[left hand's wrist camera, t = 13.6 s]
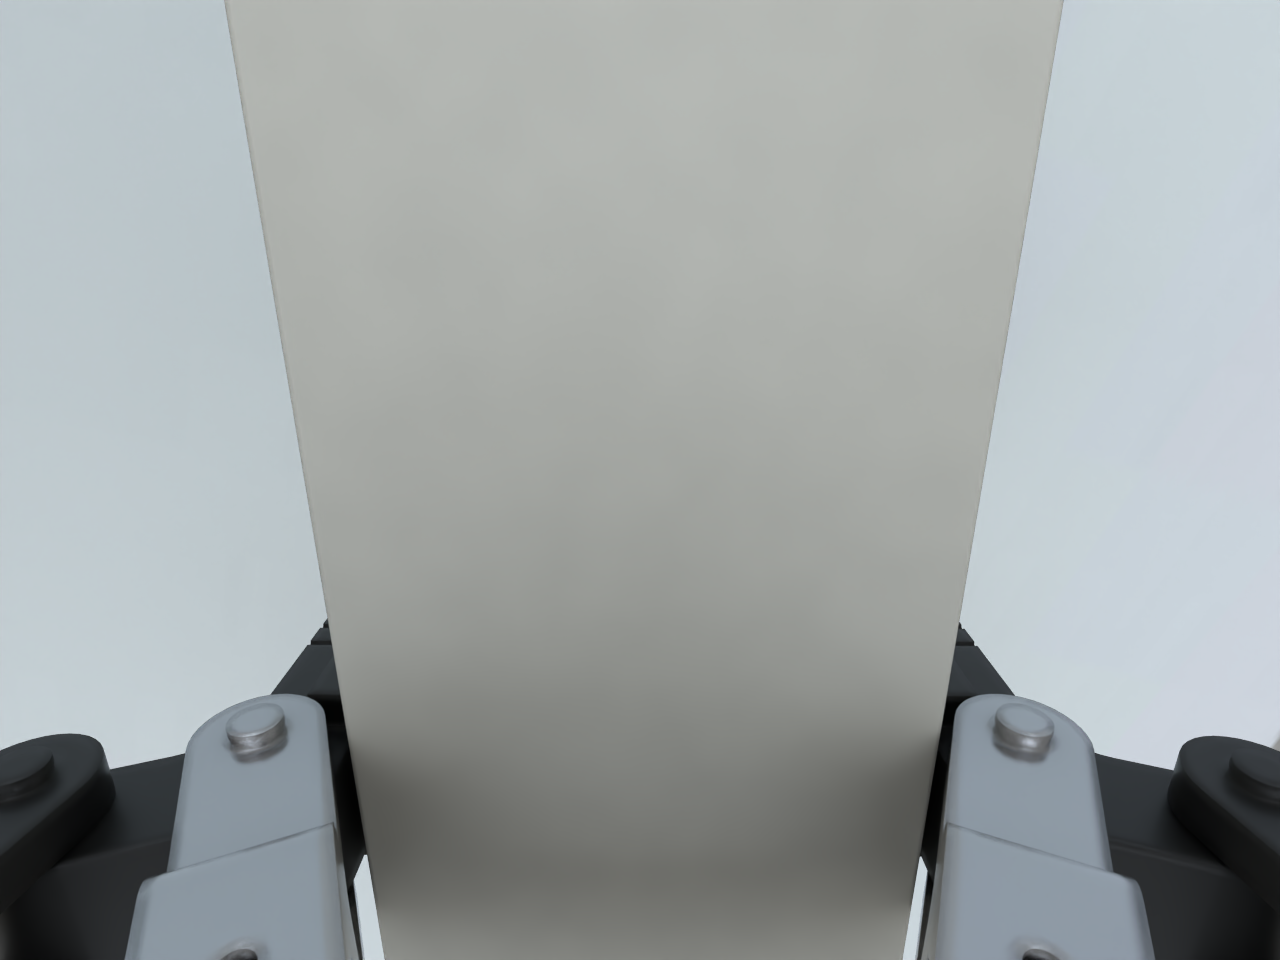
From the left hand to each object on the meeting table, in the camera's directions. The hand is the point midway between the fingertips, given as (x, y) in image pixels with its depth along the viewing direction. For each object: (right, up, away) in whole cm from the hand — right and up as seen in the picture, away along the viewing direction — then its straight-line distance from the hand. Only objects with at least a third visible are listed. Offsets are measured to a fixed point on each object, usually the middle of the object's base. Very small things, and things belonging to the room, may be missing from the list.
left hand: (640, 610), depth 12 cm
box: (0, +11, +3) cm, 11 cm away
